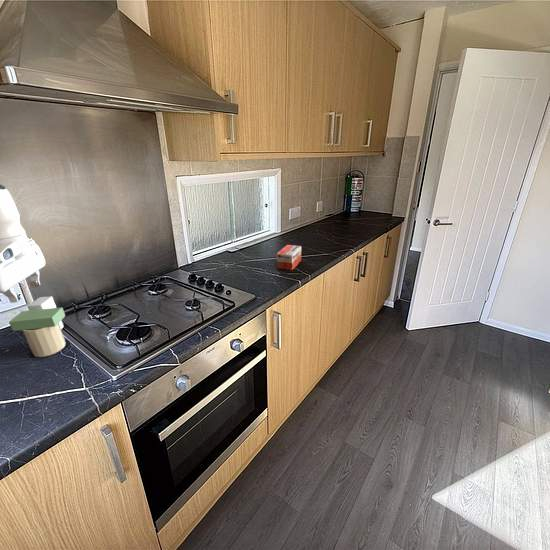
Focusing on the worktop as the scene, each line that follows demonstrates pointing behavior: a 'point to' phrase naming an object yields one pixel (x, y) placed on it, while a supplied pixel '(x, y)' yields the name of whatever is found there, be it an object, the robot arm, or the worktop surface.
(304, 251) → the worktop surface
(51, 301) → the cosmetic box
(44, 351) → the cup
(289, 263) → the medicine box
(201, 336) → the worktop surface
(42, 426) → the worktop surface
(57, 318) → the green flat block
